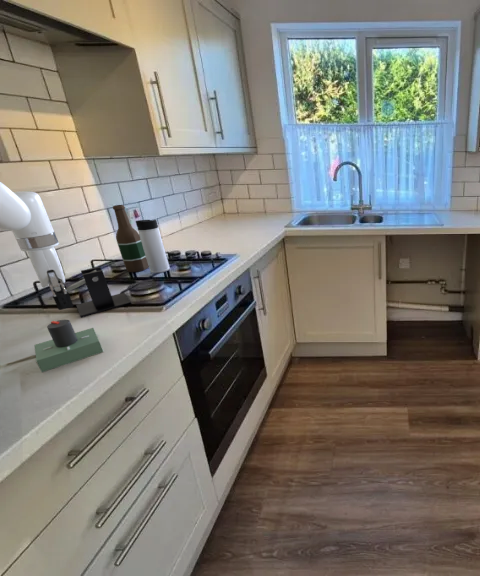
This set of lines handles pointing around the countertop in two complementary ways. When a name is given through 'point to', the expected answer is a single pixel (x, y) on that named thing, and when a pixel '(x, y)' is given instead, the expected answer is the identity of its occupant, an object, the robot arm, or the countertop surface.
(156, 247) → the travel mug
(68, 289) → the toaster lever
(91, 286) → the bracket
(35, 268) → the robot arm
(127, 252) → the beer bottle
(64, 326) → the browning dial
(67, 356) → the dial block
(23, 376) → the countertop surface
